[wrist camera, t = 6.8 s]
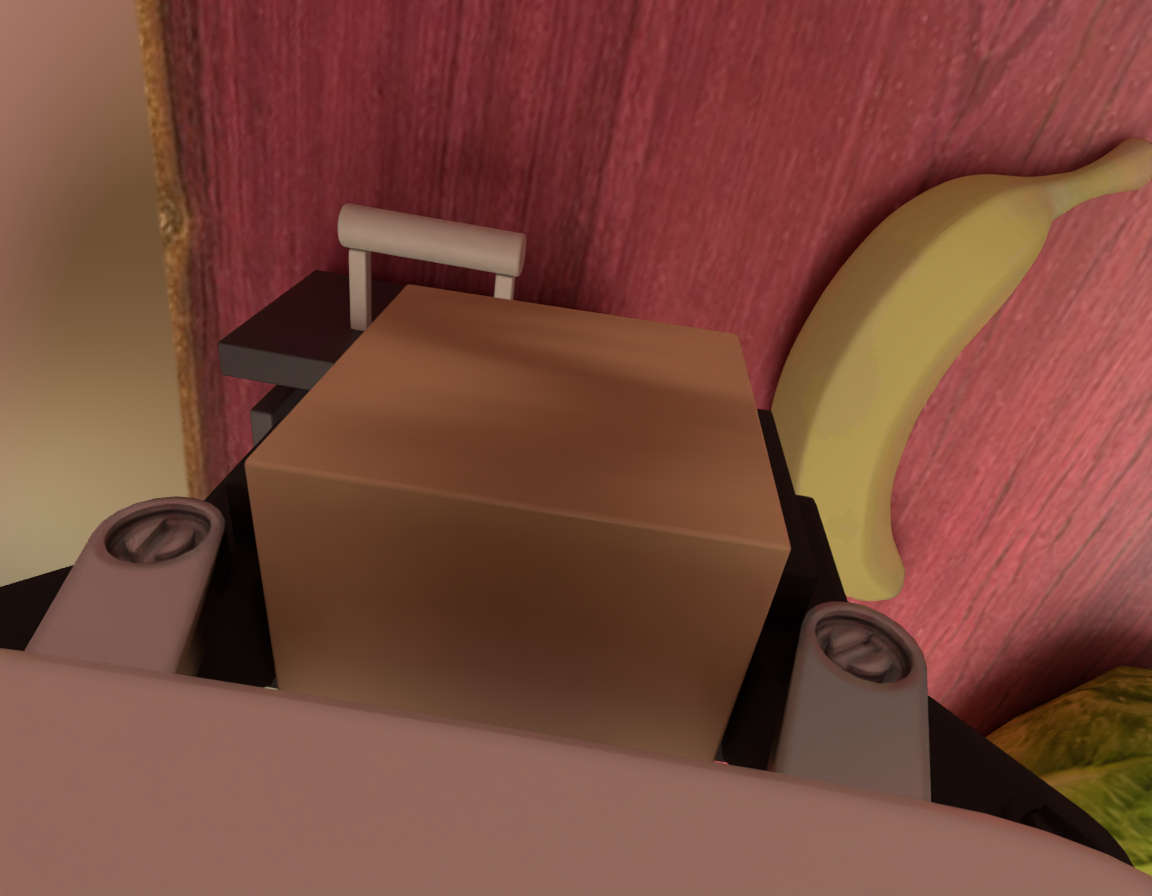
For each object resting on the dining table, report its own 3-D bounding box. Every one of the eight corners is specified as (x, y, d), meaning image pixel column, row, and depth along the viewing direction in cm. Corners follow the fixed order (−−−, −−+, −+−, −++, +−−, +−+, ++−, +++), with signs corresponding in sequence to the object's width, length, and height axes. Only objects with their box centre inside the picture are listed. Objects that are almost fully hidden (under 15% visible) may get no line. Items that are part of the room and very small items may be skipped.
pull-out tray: (310, 160, 28) (198, 207, 21) (627, 215, 27) (617, 279, 21) (328, 523, 37) (255, 635, 30) (565, 565, 37) (544, 687, 30)
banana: (690, 547, 27) (1138, 48, 20) (650, 465, 32) (1003, 33, 24) (906, 643, 33) (1312, 289, 26) (847, 563, 38) (1178, 241, 30)
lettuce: (745, 864, 40) (911, 1110, 38) (1200, 743, 26) (1512, 1119, 24) (822, 728, 51) (955, 911, 49) (1173, 590, 37) (1385, 838, 35)
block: (407, 541, 13) (291, 789, 9) (407, 282, 11) (241, 460, 6) (674, 583, 13) (681, 853, 9) (738, 333, 11) (793, 548, 6)
